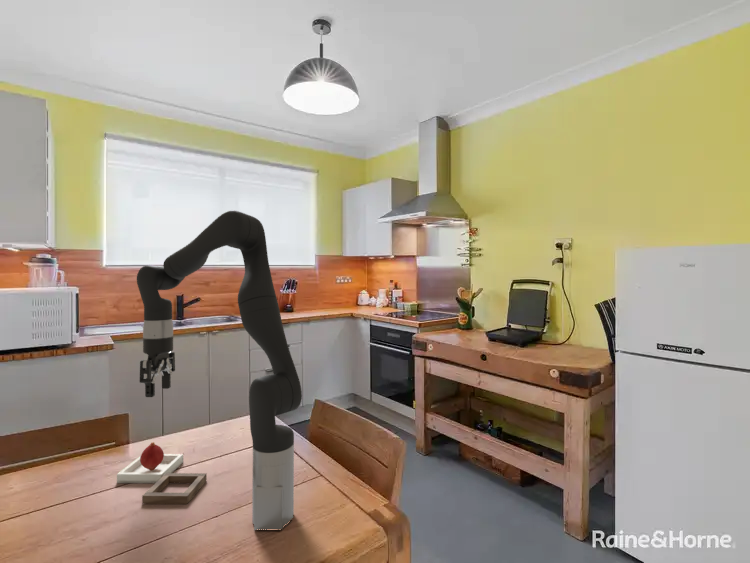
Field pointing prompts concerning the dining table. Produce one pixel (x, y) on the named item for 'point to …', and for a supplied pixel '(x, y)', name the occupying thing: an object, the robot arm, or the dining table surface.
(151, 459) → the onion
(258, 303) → the robot arm
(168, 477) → the frame
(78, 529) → the dining table surface
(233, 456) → the dining table surface
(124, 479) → the tray
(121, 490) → the dining table surface
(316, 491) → the dining table surface
